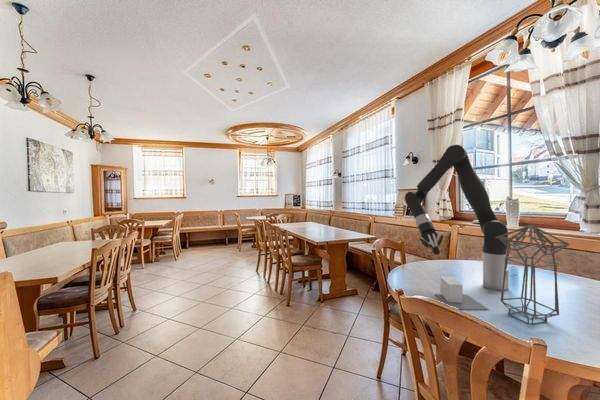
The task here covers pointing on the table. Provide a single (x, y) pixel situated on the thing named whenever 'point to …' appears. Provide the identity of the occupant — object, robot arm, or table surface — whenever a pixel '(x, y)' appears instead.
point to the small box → (451, 289)
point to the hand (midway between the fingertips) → (437, 254)
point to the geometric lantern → (539, 234)
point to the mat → (464, 303)
